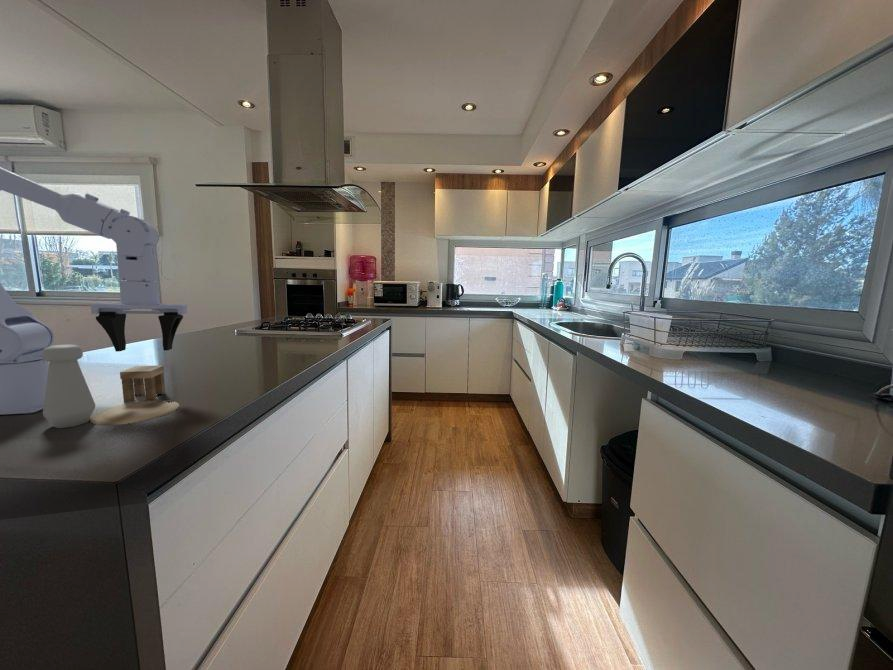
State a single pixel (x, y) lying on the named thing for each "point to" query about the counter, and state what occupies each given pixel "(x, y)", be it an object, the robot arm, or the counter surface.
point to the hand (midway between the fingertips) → (144, 350)
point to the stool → (142, 382)
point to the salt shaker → (66, 388)
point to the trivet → (133, 412)
